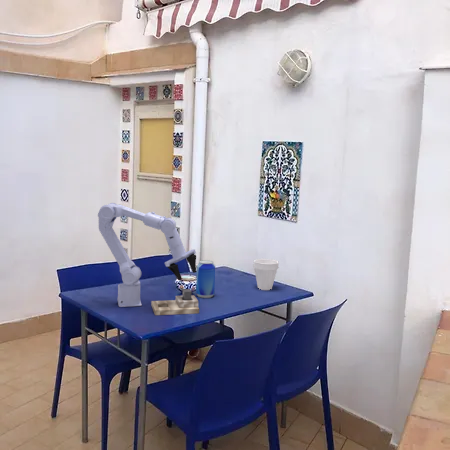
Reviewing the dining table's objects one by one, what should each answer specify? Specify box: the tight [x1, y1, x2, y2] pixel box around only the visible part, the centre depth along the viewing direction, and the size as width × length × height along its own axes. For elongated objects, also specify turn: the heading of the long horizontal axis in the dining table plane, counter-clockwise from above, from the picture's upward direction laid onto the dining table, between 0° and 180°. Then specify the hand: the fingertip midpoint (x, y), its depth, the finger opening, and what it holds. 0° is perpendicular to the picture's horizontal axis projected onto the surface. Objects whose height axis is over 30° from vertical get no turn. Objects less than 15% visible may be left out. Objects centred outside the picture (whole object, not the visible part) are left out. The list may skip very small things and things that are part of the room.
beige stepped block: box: [150, 294, 200, 316], centre depth 214 cm, size 18×13×4 cm
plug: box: [182, 288, 193, 300], centre depth 215 cm, size 3×4×6 cm
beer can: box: [195, 259, 216, 299], centre depth 235 cm, size 8×8×16 cm
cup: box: [253, 258, 280, 291], centre depth 252 cm, size 12×12×14 cm
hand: (187, 276), depth 217 cm, fingers open, 7 cm apart
